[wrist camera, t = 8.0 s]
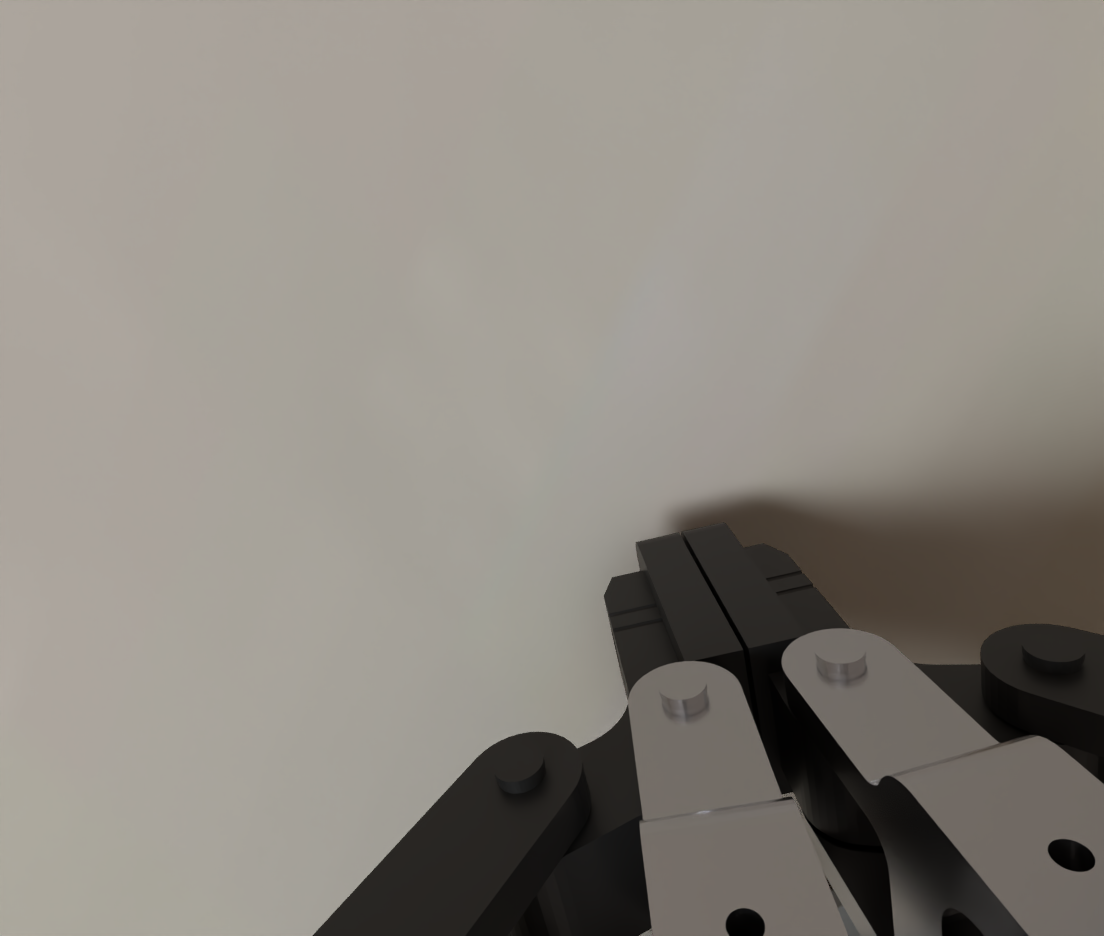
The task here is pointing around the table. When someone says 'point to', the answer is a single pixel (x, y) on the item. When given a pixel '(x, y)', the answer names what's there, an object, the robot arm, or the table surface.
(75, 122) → the table surface
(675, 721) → the robot arm
